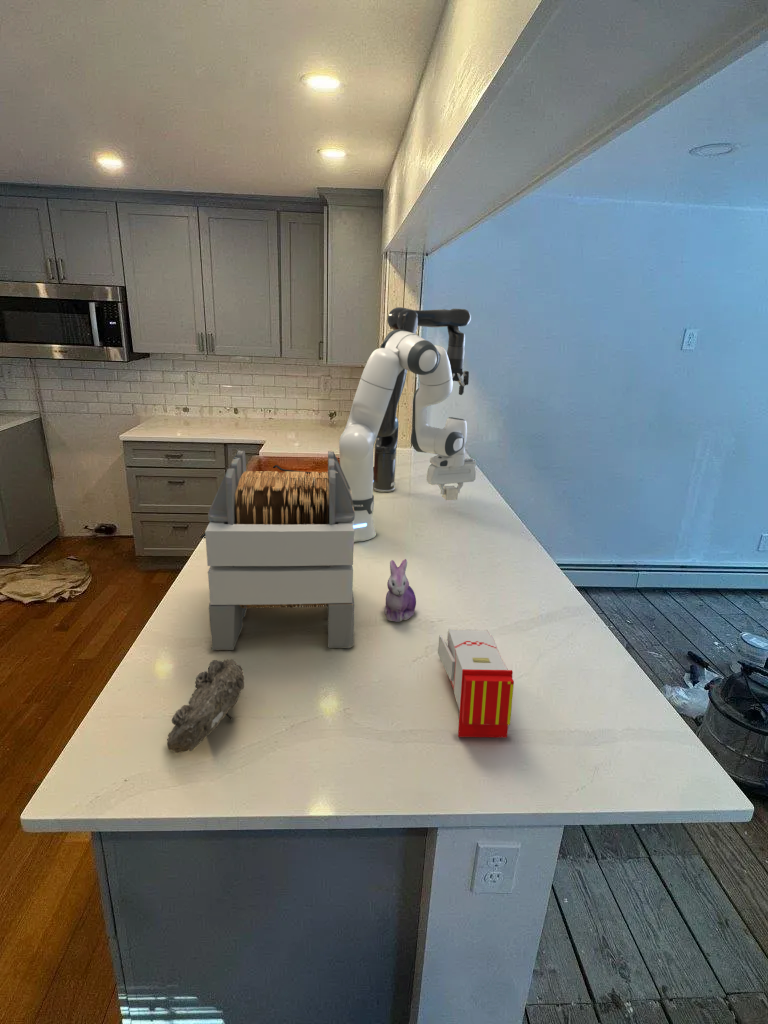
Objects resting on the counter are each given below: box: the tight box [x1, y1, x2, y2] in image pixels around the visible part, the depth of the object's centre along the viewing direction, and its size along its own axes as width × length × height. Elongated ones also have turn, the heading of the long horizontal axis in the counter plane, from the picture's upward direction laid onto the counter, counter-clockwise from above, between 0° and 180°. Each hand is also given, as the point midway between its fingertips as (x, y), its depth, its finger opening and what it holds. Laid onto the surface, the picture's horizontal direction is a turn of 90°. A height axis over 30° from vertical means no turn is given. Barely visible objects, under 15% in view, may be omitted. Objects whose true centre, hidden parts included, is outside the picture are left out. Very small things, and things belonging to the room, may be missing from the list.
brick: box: [441, 485, 459, 501], centre depth 222 cm, size 5×5×4 cm
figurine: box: [384, 558, 417, 623], centre depth 145 cm, size 9×10×15 cm
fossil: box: [166, 658, 245, 754], centre depth 106 cm, size 22×10×15 cm
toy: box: [437, 628, 515, 738], centre depth 117 cm, size 12×13×30 cm
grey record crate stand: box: [204, 449, 355, 652], centre depth 138 cm, size 34×33×41 cm
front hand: (450, 493), depth 222 cm, fingers closed on brick, 5 cm apart
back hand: (452, 394), depth 252 cm, fingers open, 8 cm apart
